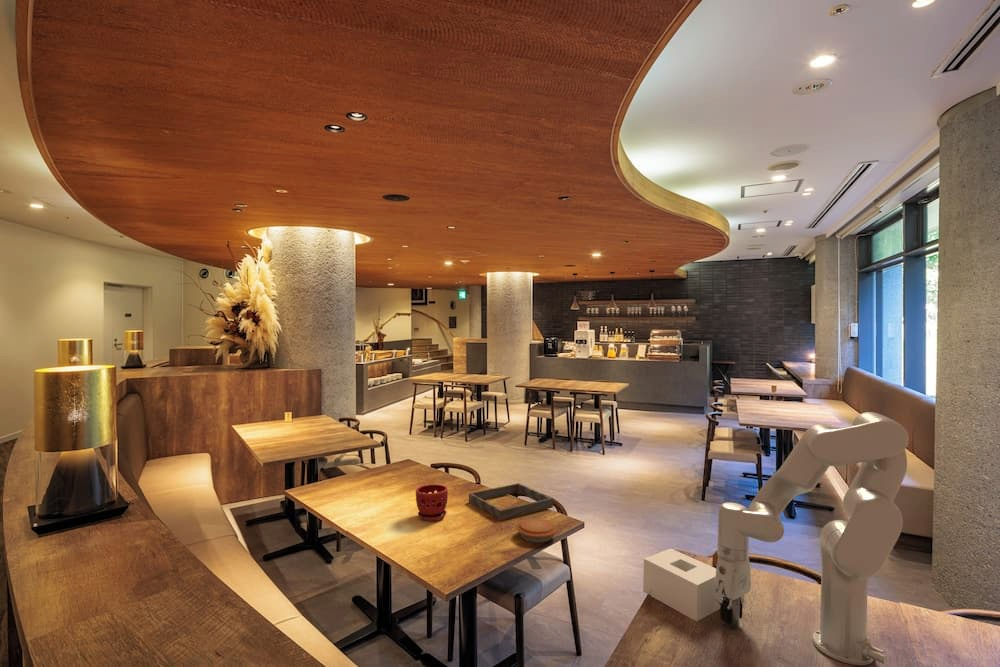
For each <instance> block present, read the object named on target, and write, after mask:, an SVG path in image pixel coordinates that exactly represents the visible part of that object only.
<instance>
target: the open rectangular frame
mask: <svg viewBox="0 0 1000 667" xmlns="http://www.w3.org/2000/svg"><path fill="white" fill-rule="evenodd" d="M516 493H517V494H518V493H519V494H521V495H523V496H525V497H527V498H529V499H531V500H534V501H533V502H529V503H523V504H521V505H520V504H519V505H515V506H512V507H507V508H503V509H501V508H499V507H497V506H495V505H493V504H492V503H490V502H488V501H486V500H489V499H495V498H499V497H505V496H508V495H512V494H516ZM468 503H469V504H471V505H473V506H474V507H476V508H478V509H480V510H482V511H483V512H484V513H487V514H488V515H490V516H492V517H493V518H495V519H497V520H499V521H500V522H501V521H505V520H509V519H513V518H517V517H521V516H526V515H529V514H533V513H537V512H541V511H545V510H549V509H552V508H554V507H553V504H554V498H552V497H550V496H549V495H546V494H544V493H541V492H540V491H537V490H535V489H532V488H531V487H528V486H527V485H526V486H525V485H524V484H521V483H519V482H518V483H513V484H508V485H505V486H499V487H494V488H493V487H492V488H488V489H484V490H479V491H475V492H469V493H468Z"/></svg>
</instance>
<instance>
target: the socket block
mask: <svg viewBox="0 0 1000 667" xmlns="http://www.w3.org/2000/svg"><path fill="white" fill-rule="evenodd" d="M642 578H643V579H642V580H643V581H642V582H643V583H642V584H643V586H642V587H643V588H642V591H643V593H645V594H646V595H648V594H649V593H650V591H651V590H652V591H651V593H650V594H649V595H648V596H650V595H651V596H650V597H652V598H654V599H656V600H657V601H659V602H661V603H663V604H665V605H666V606H668V607H670V608H671V609H674V610H676V611H677V612H678V613H681V615H682V614H683V615H684V616H686V617H687V618H689V619H691V620H693V621H695V622H698V621H700V620H702V619H704V618H705V617H707V616H710V615H712V614H713V613H716V612H717V611H720V605H719V602H718V601H716V600H715V597H716V594H717V593H716V589H715V578H716V568H714V567H712V565H709V564H707V563H705V562H702V561H701V560H698V559H695V558H693V557H691V556H689V555H686V554H684V553H682V552H680V551H677V550H675V549H673V548H668V549H666V550H664V551H660V552H658V553H655V554H652V555H649V556H647V557H644V558H643V577H642Z"/></svg>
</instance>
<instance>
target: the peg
mask: <svg viewBox="0 0 1000 667" xmlns="http://www.w3.org/2000/svg"><path fill="white" fill-rule="evenodd" d="M724 593H725V592H724ZM724 600H726V601H727V602H728V599H727V598H725V597H724ZM731 609H733V622H732V624H729V623H727V622H725V621H723V620H722V625H723V626H724V628H727V629H730V630H739V629H740V618H739V616H740V597H739V598H737V599H735V600H732V606H731Z"/></svg>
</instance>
